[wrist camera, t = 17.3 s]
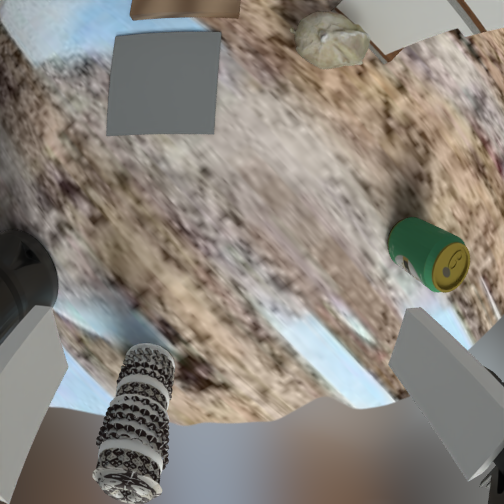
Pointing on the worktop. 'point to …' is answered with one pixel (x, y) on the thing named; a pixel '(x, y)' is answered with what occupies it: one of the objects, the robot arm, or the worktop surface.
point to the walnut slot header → (184, 9)
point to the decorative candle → (137, 427)
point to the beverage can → (429, 254)
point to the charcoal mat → (163, 83)
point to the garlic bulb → (330, 40)
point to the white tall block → (418, 20)
